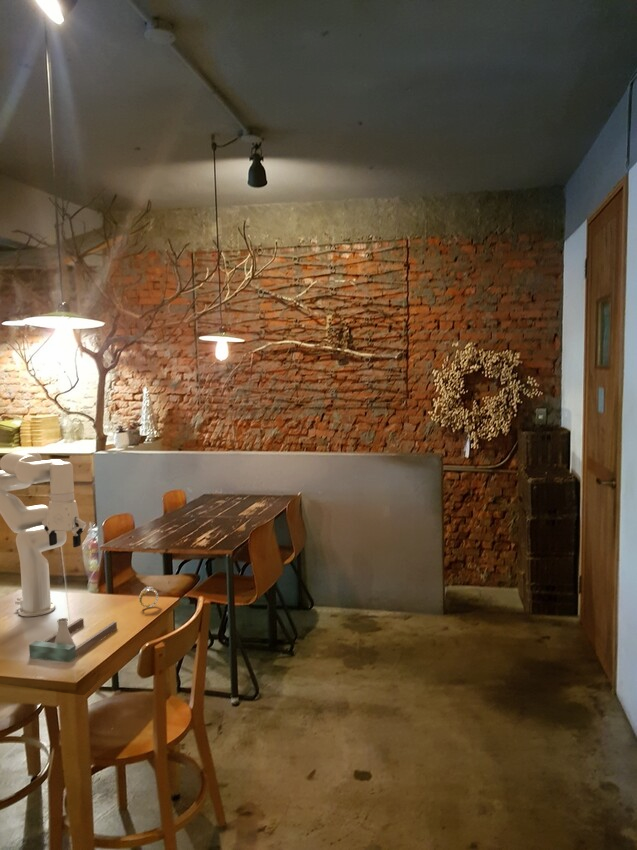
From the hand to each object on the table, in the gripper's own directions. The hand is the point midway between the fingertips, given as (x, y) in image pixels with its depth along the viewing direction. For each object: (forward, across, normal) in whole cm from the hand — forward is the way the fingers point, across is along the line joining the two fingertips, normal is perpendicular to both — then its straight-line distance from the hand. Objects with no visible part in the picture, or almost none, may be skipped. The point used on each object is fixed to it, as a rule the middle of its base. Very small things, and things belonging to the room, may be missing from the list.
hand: (65, 545), depth 210 cm
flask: (+29, +12, -18) cm, 36 cm away
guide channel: (+28, +12, -13) cm, 33 cm away
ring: (+28, +20, +20) cm, 40 cm away
